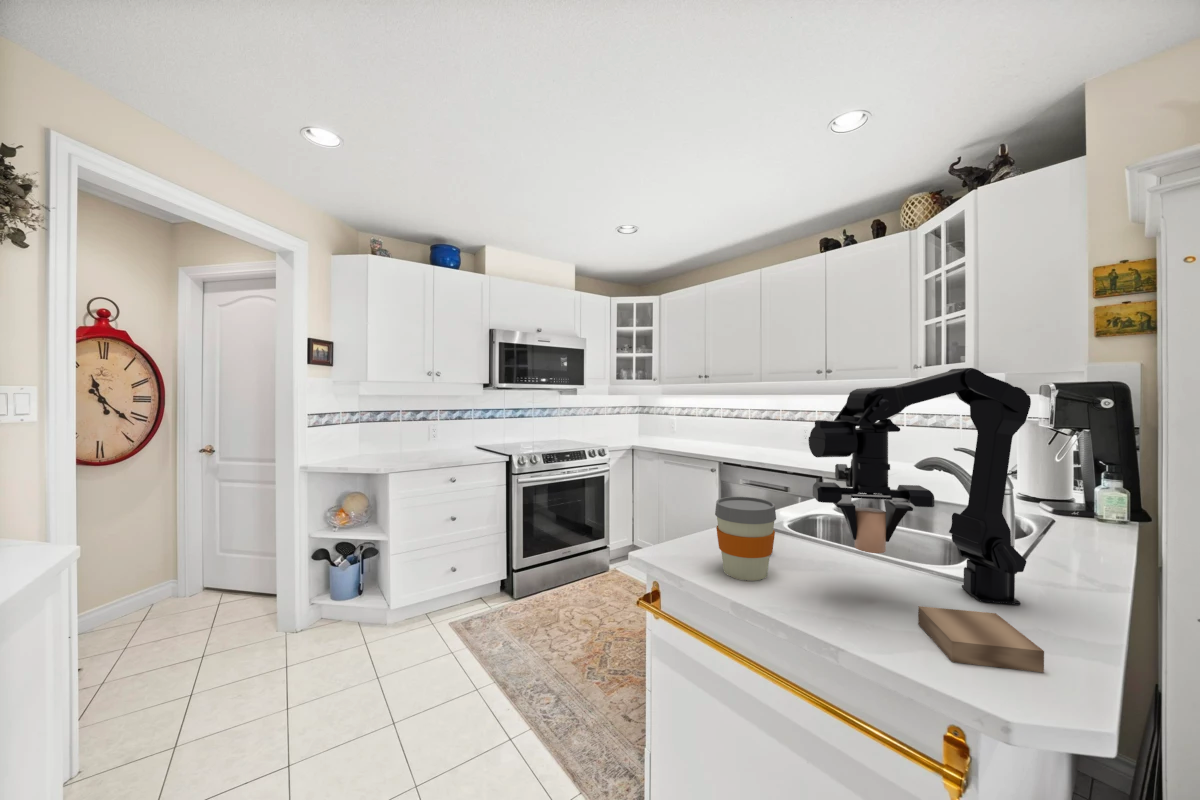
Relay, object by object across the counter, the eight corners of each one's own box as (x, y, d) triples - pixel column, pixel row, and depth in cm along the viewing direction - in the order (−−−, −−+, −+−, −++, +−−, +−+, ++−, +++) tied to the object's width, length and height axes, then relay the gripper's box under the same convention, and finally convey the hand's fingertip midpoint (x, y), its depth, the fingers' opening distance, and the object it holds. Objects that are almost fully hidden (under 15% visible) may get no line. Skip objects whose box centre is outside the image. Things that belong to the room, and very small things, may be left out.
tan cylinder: (880, 545, 86) (880, 508, 86) (890, 554, 82) (889, 515, 82) (851, 543, 88) (851, 506, 88) (858, 552, 83) (858, 513, 83)
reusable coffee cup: (771, 563, 103) (771, 497, 103) (780, 587, 91) (780, 512, 91) (714, 559, 106) (714, 495, 106) (715, 581, 94) (715, 508, 94)
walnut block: (995, 631, 74) (995, 613, 74) (1043, 672, 63) (1044, 651, 63) (918, 623, 76) (918, 606, 76) (951, 661, 66) (952, 641, 66)
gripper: (910, 451, 90) (910, 530, 90) (807, 449, 95) (807, 524, 95) (935, 459, 79) (935, 549, 79) (818, 457, 84) (818, 542, 84)
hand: (870, 540), depth 85 cm, fingers closed on tan cylinder, 5 cm apart
